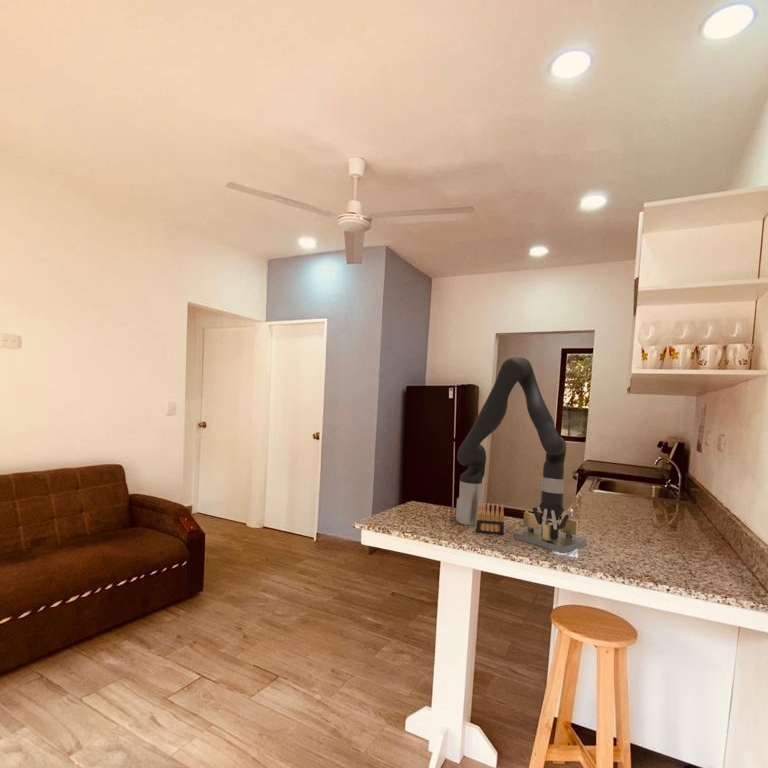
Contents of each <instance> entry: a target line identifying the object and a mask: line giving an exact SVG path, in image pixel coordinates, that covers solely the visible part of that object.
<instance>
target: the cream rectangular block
mask: <svg viewBox="0 0 768 768" xmlns="http://www.w3.org/2000/svg"><path fill="white" fill-rule="evenodd" d="M560 519H561V520H560V523H561V522H562V520H563V517H561V518H560ZM578 528H579V520H577V519H573V518H570V519H569V520H568V522H567V524H566V526H565V527H564V528H562V529H560V532H561V533H565V534H566V536H567V537H572V536H578V533H579V532H578V531H579V529H578Z"/></svg>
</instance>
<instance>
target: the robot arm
mask: <svg viewBox="0 0 768 768" xmlns="http://www.w3.org/2000/svg"><path fill="white" fill-rule="evenodd" d="M517 383H518V384H519V385H520V387H521V389H522V390H523V393H524V397H525V403H526V408H527V413H528V415H529V418H530V419H531V422H532V425H533V426H534V429H536V432H537V435H538V439H539V442H540V443H541V446H542V448H543V450H544V451H545V452H546V453H545V462H544V463H543V468H542V480H541V491H540V494H541V495H540V504H539V506H534V507H533V508H532V511H533V514H534V515H535V518H536V520H537V523H538V524H539V526H541V527H542V533H543V524H545V523H548V521H549V518H551V519H552V522H553V527H554V529H553V540H556V539H557V538H558V534H559V532H560V531H559V530H561V529H562V528H564V527H565V526H566V524H567V522H568V520H569V519H571V517H572V514H570V513H567V512H566V511H565V509H564V494H565V487H564V486H565V483H564V475H565V474H564V473H565V469H564V468H565V465H564V464H565V459H566V453H567V443H566V440H565V439H564V438H563V437H562V436H560V434H559V433H558V431H557V428H556V427H555V426H556V425H555V421H554V418H553V417H552V414H551V413H550V411H549V409H548V406H547V405H546V403H545V400H544V398H543V396H542V394H541V390H540V387H539V385H538V381H537V378H536V375H535V372H534V368H533V365H532V364H531V362H530V361H529V360H528V359H527V358H525V357H522V356H521V357H520V356H519V357H509V358H507V359H506V360H504V361H503V363H502V365H501V367H500V370H499V372H498V375H497V377H496V379H495V382H494V384H493V386H492V388H491V390H490V392H489V394H488V396H487V398H486V400H485V402H484V403H483V405H482V408H481V409H480V412H479V414H478V416H477V418H476V420H475V421H474V423H473V425H472V426H471V428H470V431H469V432H468V434H467V435H466V437H465V438H464V439H463V441H462V443H461V444H460V445H459V448H458V450H457V455H456V458H457V461H458V463H459V464H460V465H462V466H465V467H467V469H466V470H465V471H464V472H462V473H461V474H460V476H459V491H458V492H459V494H458V495H459V496H458V497H457V498H456V508H455V509H456V511H455V512H456V513H455V521H456V522H458V523H459V524H460V525H461V524H462V525H464V526H465V525H466V526H472V527H473V526H475V527H476V520H477V511H478V504H479V502H480V504H481V505H482V489H483V488H482V487H483V479H484V477H485V474H486V472H485V471H486V463H487V451H486V449H485V447H484V445H482V442H483V441H484V440H485V439H486V438H487V437H489V436H490V435H491V434H492V433H494V432H495V431H496V430H497V429H498V428H499V426H500V425H501V424H502V421H503V420H504V418H505V416H506V414H507V409H508V401H509V398H510V397H509V396H510V394H511V392H512V390H513V388H514V387H515V385H516V384H517ZM541 513H542V514H543V515H541ZM542 516H543V519H542ZM560 516H562V517H563V520H562V522H561V521H560ZM562 517H561V518H562Z"/></svg>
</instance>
